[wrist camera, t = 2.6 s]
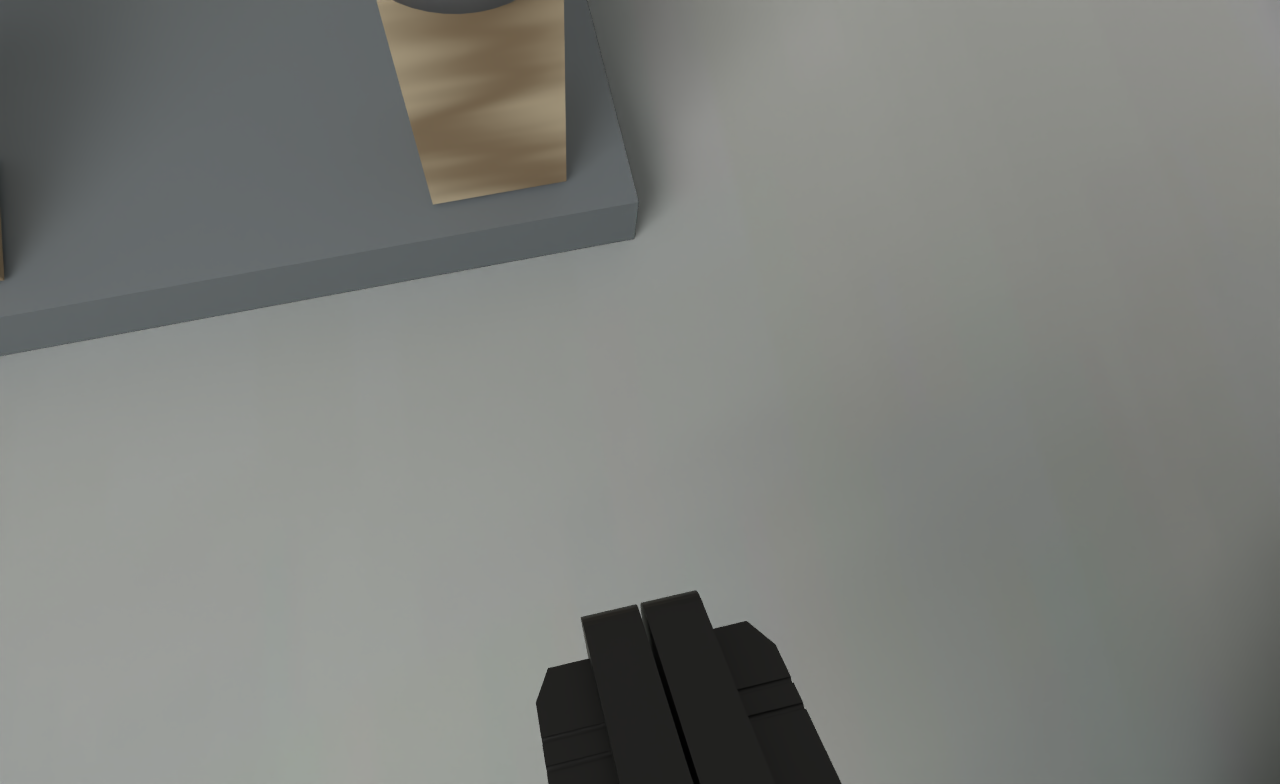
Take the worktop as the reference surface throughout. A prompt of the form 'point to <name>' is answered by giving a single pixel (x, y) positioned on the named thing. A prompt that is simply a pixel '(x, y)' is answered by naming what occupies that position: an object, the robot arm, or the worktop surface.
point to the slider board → (249, 165)
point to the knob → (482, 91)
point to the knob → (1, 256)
